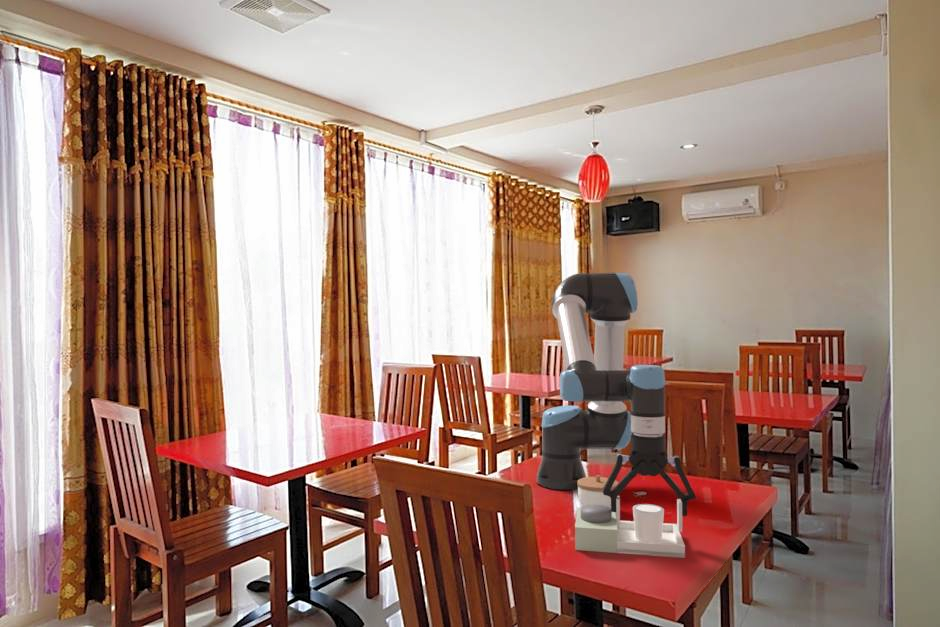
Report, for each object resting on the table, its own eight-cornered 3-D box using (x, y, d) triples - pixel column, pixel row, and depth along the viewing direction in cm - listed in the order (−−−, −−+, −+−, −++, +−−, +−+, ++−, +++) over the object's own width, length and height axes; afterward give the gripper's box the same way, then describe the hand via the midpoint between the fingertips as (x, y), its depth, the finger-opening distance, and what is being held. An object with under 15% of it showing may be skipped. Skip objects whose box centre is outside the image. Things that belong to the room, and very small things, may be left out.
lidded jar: (588, 519, 154) (588, 482, 154) (570, 506, 164) (570, 472, 164) (626, 515, 157) (626, 479, 157) (606, 503, 167) (606, 469, 167)
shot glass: (632, 542, 136) (631, 511, 136) (633, 532, 142) (633, 502, 142) (664, 546, 134) (664, 514, 134) (664, 535, 140) (664, 504, 140)
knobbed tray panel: (577, 528, 148) (577, 499, 148) (676, 534, 143) (676, 504, 143) (575, 549, 134) (575, 518, 134) (685, 557, 130) (684, 525, 130)
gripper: (591, 435, 137) (592, 530, 137) (708, 438, 132) (709, 537, 132) (592, 429, 144) (592, 519, 144) (702, 432, 139) (703, 525, 139)
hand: (648, 528), depth 138 cm, fingers open, 13 cm apart
